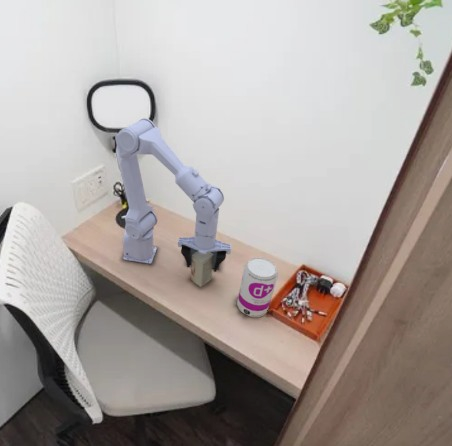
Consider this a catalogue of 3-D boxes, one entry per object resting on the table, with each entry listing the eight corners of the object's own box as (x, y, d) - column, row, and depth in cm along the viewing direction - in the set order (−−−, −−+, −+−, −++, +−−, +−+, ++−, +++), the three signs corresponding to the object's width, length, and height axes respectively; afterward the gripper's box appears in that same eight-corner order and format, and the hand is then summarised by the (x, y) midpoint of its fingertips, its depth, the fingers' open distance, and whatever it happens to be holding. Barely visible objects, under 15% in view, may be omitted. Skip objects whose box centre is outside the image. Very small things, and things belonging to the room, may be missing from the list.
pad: (186, 264, 107) (186, 264, 106) (190, 246, 114) (191, 246, 114) (218, 269, 104) (218, 269, 104) (220, 251, 111) (221, 250, 111)
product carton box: (201, 271, 104) (203, 246, 98) (211, 279, 101) (215, 254, 95) (189, 279, 101) (191, 254, 95) (199, 287, 99) (202, 262, 93)
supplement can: (268, 320, 89) (281, 280, 80) (236, 316, 90) (245, 276, 81) (266, 297, 95) (277, 258, 86) (236, 293, 96) (244, 254, 88)
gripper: (176, 235, 89) (175, 272, 97) (232, 243, 86) (226, 281, 94) (180, 220, 94) (179, 256, 102) (233, 227, 91) (227, 264, 99)
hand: (201, 267), depth 98 cm, fingers open, 7 cm apart
